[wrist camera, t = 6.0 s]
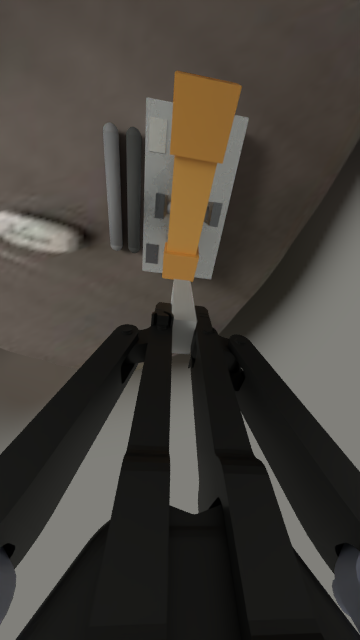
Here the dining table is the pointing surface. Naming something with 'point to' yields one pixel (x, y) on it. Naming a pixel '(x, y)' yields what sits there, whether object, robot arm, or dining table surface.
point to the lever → (195, 163)
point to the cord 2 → (133, 187)
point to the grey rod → (113, 184)
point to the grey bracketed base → (160, 189)
